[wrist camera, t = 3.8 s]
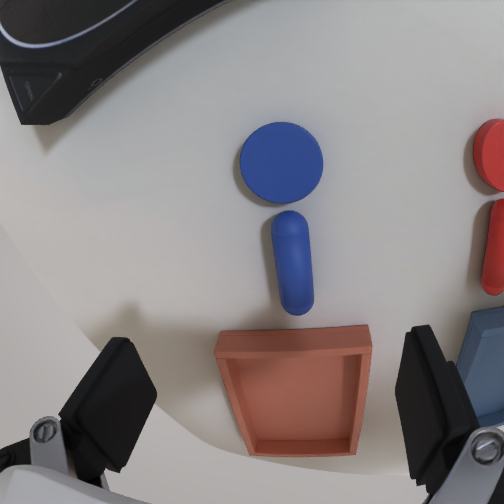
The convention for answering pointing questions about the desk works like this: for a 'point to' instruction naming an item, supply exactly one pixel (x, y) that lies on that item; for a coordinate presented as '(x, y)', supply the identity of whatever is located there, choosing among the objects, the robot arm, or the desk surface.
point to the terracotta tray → (297, 388)
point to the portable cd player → (79, 47)
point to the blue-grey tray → (484, 365)
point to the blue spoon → (286, 201)
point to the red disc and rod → (500, 227)
